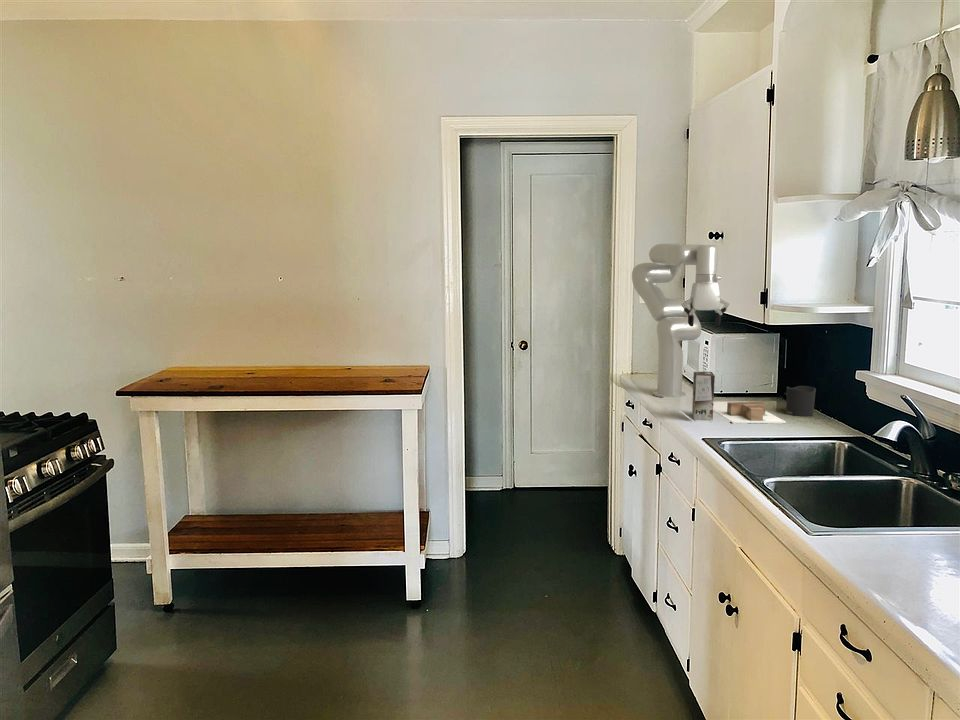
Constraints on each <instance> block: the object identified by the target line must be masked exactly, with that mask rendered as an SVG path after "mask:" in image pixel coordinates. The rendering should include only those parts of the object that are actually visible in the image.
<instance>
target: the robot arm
mask: <svg viewBox="0 0 960 720" xmlns="http://www.w3.org/2000/svg"><path fill="white" fill-rule="evenodd" d="M648 256H649V259H650V261H651V262H642V263H639V264H637V265H635V266H634V267H633V268H632V271H631V282H632V285H633V288H634V289H635V292H636V293H637V294H638V296H639V297H640V298H641V299H642V300H643V302H644V304H645V306H646V307H647V309H648V311H649V313H650V315H651V317H652V318H653V319H654V320H655V321H656V322H657V324H656V334H657V342H658V362H657V363H658V364H657V388H656V389H657V390H654V391H653V392H652V393H653V395H654V396H655V397H658V398H664V397H665V398H682V397H685V396H686V394H687V393H686V392H685V391H683V367H684V366H683V365H684V351H683V349H682V346H681V345H680V343H679V342H681V341H683V342H684V341H686V342H687V341H695V340H697V339H698V338H700V336H701V334H702V325H701V322H700V320H699V318H698V316H697V315H696V311H714V312H715V313H716V314H715V316H714V317H715V319H714V326H715V327H720V324H722V315H723V314H724V313H726V312H727V309H728V308H729V306H730V303H729V302H727V301H726V300H724V299H721V290H720V284H719V282H718V281H720V280H721V279H722V277H721V275H718V261H719V248H718V246H717V245H714V244H680V243H658V244H655V245H653V246H652V247H651V248H650V250H649V251H648ZM683 266H695V282H693V283H692V285H691V290H690V298H689V299H688V300H687V299H686V300H685V299H684V298H683V299H682V298H669V297H667V296H666V295H665V293H664V292H663V290H662V289H661V288H660V287H658V286H657V285H656V284H667V283H670V282H672V281H673V280H674V279H675V277H676V276H677V274H678V272H679V271H680V269H681V268H682V267H683ZM721 304H722V305H723V306H722V308H720V307H721Z"/></svg>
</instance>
